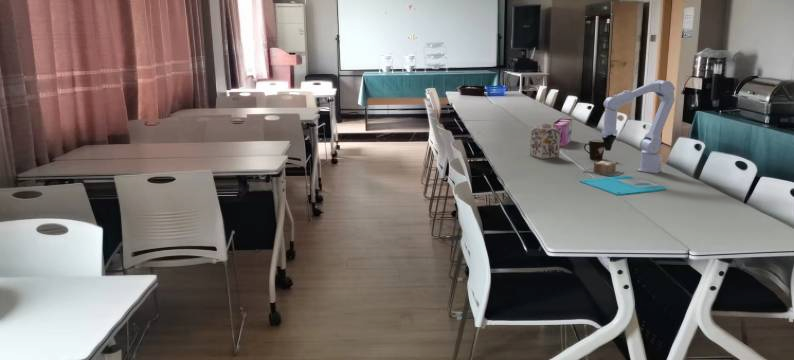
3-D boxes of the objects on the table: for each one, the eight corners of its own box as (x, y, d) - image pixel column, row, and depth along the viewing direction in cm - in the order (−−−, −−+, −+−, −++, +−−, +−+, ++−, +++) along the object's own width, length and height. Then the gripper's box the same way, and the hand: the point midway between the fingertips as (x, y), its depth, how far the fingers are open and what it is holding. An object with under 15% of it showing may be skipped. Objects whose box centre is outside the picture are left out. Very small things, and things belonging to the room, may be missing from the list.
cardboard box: (616, 162, 300) (608, 165, 293) (615, 170, 301) (607, 173, 294) (602, 160, 305) (594, 163, 297) (601, 168, 306) (593, 171, 298)
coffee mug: (602, 157, 334) (603, 139, 331) (606, 160, 326) (607, 142, 323) (580, 157, 335) (581, 138, 333) (583, 160, 327) (584, 141, 324)
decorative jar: (559, 157, 333) (561, 124, 329) (541, 159, 329) (543, 125, 325) (546, 153, 344) (548, 121, 340) (528, 155, 340) (530, 122, 335)
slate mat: (623, 173, 297) (623, 172, 297) (615, 176, 290) (615, 175, 290) (591, 168, 308) (591, 167, 307) (583, 171, 300) (583, 170, 300)
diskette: (578, 182, 281) (578, 180, 281) (628, 177, 291) (628, 175, 290) (617, 196, 257) (617, 194, 257) (670, 190, 267) (670, 188, 267)
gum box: (564, 147, 364) (565, 124, 361) (550, 145, 367) (552, 123, 364) (571, 140, 385) (572, 118, 382) (558, 139, 388) (559, 118, 385)
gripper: (607, 120, 304) (605, 147, 307) (596, 123, 293) (593, 151, 296) (622, 121, 299) (619, 148, 302) (610, 124, 288) (608, 153, 292)
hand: (607, 150), depth 299 cm, fingers closed
